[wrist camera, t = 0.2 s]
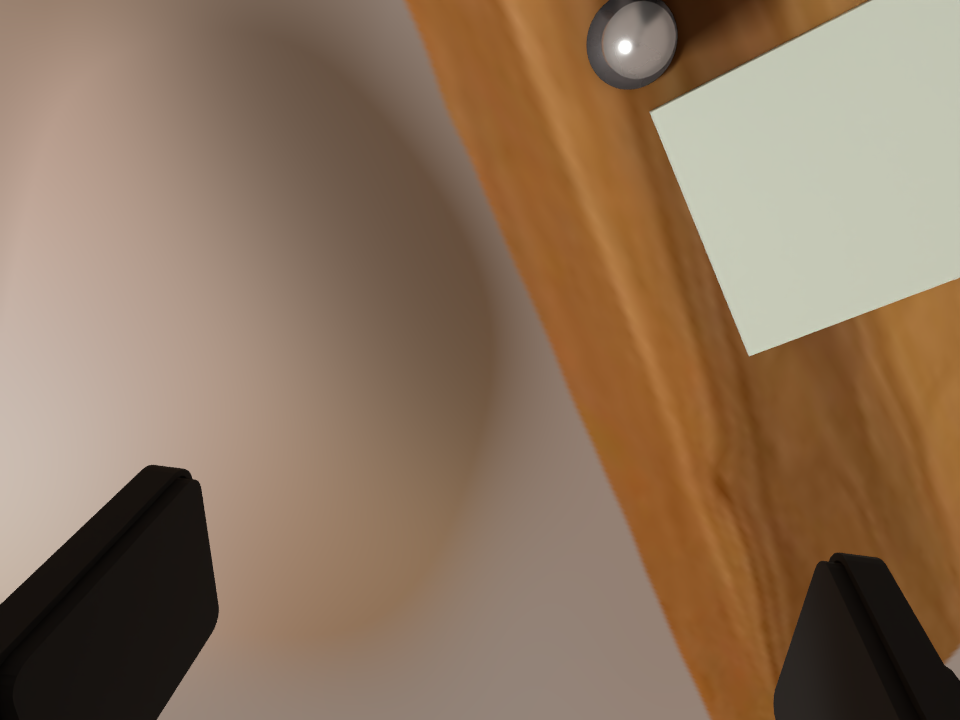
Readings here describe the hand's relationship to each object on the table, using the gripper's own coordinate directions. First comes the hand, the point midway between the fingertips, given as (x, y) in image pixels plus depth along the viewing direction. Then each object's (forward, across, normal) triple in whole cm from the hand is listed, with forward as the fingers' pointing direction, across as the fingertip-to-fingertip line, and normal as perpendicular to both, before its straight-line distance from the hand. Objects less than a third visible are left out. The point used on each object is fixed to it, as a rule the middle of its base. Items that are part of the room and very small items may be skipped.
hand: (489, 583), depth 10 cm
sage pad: (+31, -14, -2) cm, 34 cm away
